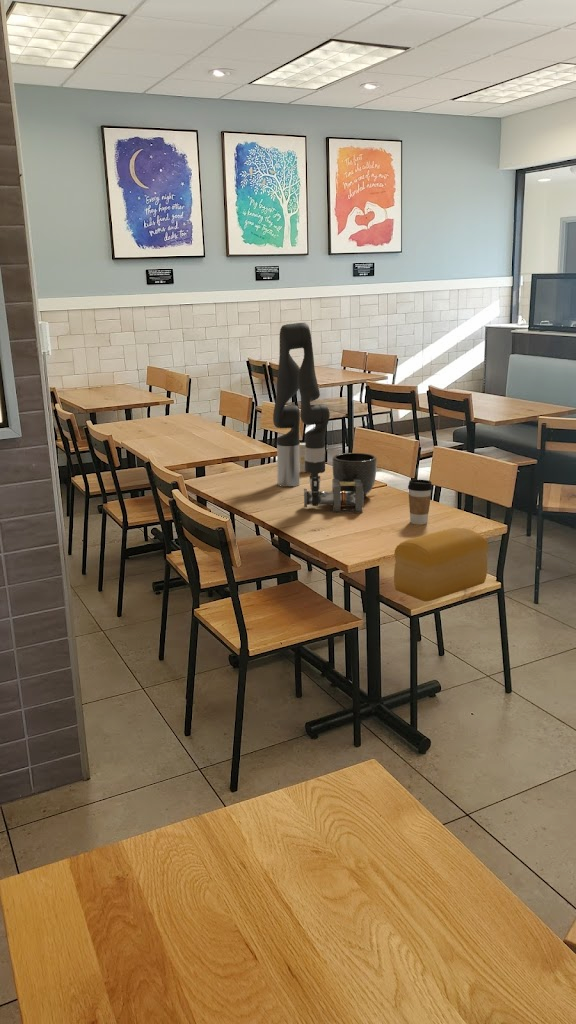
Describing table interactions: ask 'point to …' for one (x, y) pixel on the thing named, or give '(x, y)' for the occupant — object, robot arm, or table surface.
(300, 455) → the supplement box
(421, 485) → the coffee cup
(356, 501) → the hollow square frame
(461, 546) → the bread
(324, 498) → the tube
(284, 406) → the robot arm
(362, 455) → the planter
